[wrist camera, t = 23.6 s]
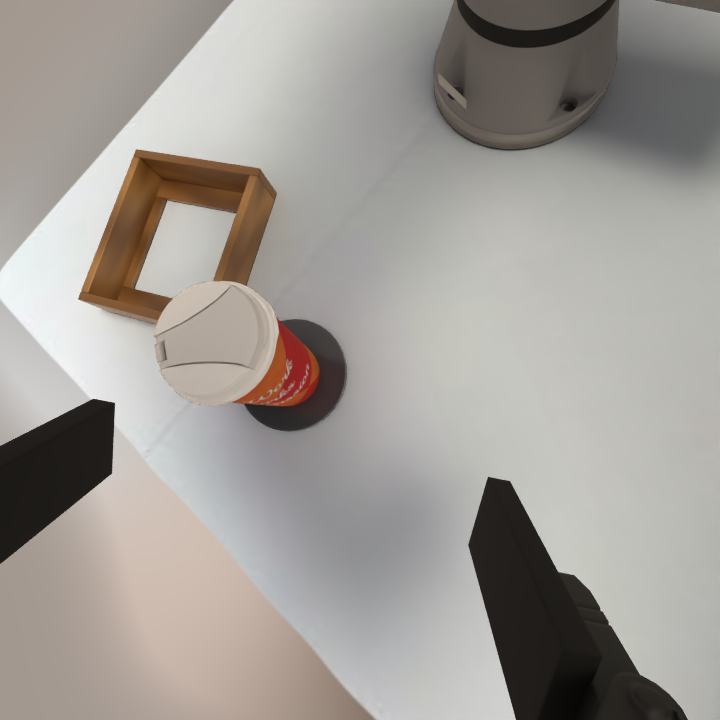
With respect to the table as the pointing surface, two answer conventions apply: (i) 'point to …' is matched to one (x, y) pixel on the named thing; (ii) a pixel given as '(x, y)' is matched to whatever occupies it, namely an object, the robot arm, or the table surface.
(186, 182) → the wooden frame
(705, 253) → the table surface
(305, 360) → the paper cup
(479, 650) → the table surface
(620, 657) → the robot arm
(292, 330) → the coaster
